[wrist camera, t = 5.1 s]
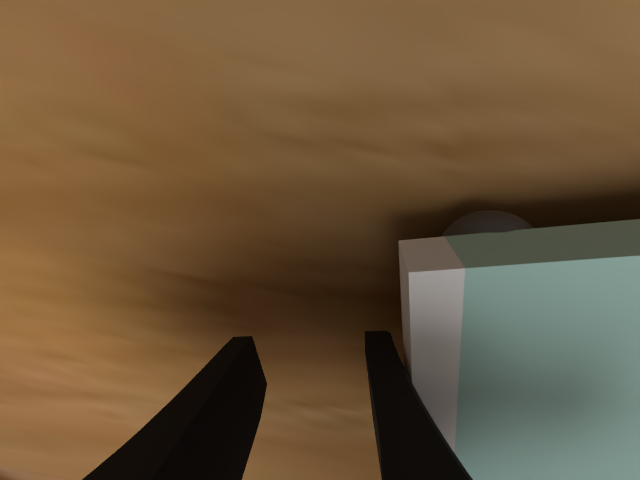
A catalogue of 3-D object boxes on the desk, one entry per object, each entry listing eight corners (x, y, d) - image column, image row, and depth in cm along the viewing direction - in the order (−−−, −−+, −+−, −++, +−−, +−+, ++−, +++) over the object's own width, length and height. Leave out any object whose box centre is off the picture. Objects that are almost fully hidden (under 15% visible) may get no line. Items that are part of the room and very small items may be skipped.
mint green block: (724, 398, 10) (871, 517, 7) (400, 401, 12) (415, 501, 9) (865, 156, 7) (1232, 198, 4) (389, 206, 8) (408, 263, 6)
